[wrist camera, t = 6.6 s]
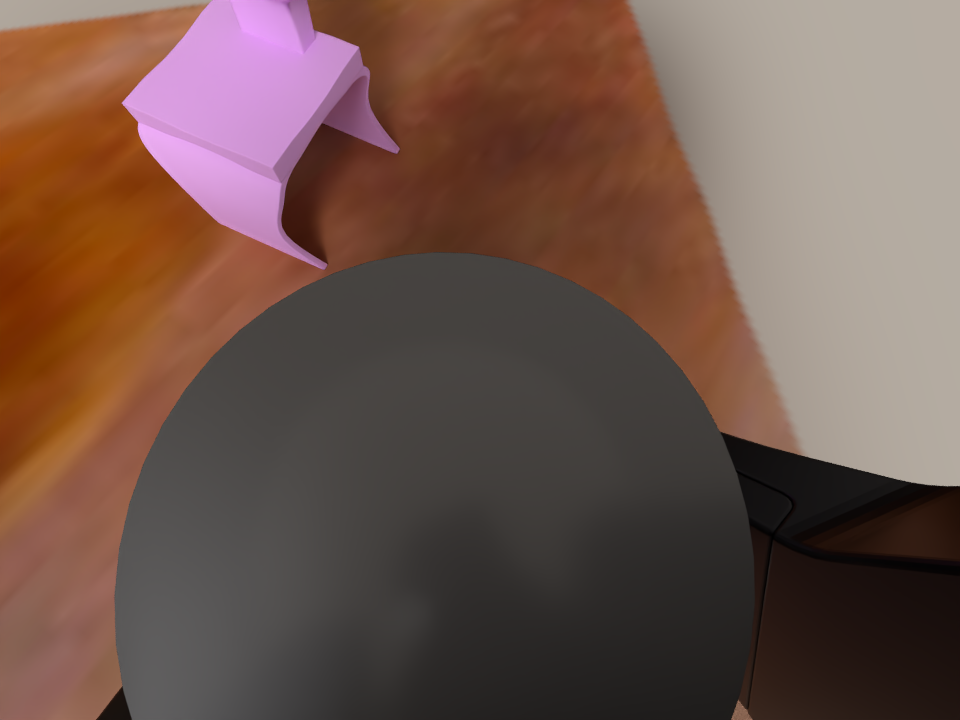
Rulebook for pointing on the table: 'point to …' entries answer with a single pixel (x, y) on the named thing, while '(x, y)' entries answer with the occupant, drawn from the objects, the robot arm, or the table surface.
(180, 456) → the grey domed cylinder
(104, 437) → the table surface
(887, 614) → the robot arm
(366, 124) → the toy chair
